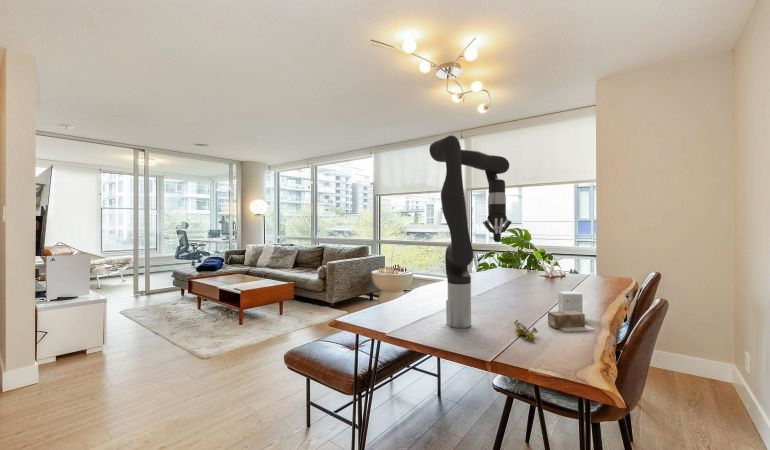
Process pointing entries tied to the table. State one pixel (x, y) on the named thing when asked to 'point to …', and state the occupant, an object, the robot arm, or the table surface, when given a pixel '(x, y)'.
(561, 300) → the small box
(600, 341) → the table surface
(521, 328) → the yellow-green lumpy cluster
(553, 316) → the walnut block
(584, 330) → the mat
